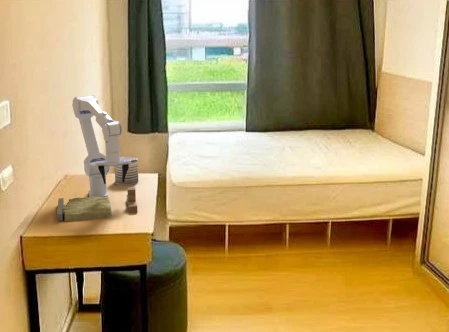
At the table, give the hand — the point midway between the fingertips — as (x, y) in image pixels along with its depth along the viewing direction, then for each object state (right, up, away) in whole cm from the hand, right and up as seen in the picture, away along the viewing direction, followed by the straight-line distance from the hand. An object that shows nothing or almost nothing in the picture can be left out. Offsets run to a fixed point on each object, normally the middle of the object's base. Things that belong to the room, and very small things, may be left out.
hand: (114, 182), depth 233 cm
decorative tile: (-10, -12, -7) cm, 17 cm away
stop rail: (-20, -12, -9) cm, 25 cm away
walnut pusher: (+8, -10, -1) cm, 13 cm away
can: (-1, -1, +34) cm, 34 cm away
